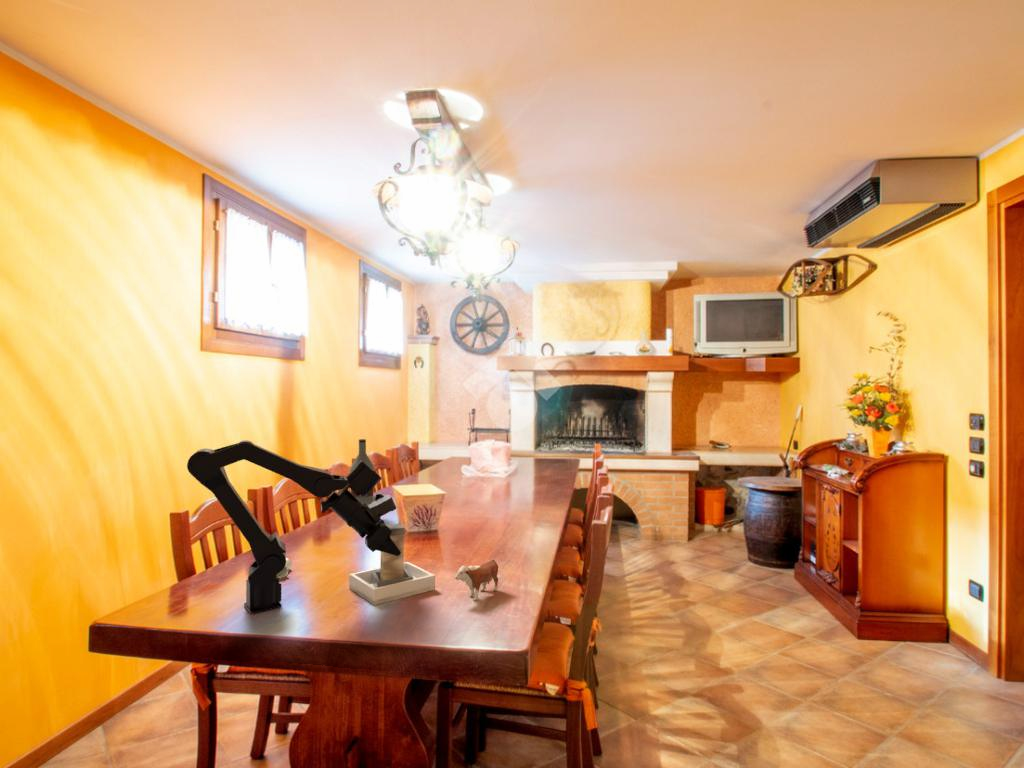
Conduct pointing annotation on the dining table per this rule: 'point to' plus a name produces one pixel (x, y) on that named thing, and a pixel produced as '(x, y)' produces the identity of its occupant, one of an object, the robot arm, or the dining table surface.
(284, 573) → the pipe fitting
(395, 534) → the wooden block
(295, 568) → the dining table surface
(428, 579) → the walled box
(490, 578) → the bull figurine
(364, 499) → the bottle
